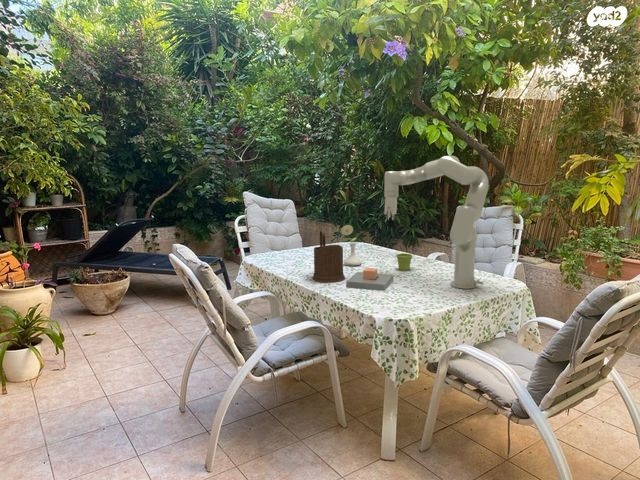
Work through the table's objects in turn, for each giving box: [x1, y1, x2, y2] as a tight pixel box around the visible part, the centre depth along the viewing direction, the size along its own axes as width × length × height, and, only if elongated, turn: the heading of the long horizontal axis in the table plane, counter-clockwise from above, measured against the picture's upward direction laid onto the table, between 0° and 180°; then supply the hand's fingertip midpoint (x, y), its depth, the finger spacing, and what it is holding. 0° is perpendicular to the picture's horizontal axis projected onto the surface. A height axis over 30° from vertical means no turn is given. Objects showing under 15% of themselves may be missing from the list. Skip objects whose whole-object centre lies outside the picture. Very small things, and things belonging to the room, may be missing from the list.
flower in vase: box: [340, 224, 363, 267], centre depth 273 cm, size 13×11×25 cm
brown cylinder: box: [312, 230, 346, 284], centre depth 245 cm, size 18×24×25 cm
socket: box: [345, 271, 394, 291], centre depth 233 cm, size 20×20×3 cm
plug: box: [362, 267, 378, 280], centre depth 232 cm, size 6×6×7 cm
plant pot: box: [396, 253, 413, 272], centre depth 260 cm, size 9×9×9 cm
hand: (391, 227), depth 245 cm, fingers closed
